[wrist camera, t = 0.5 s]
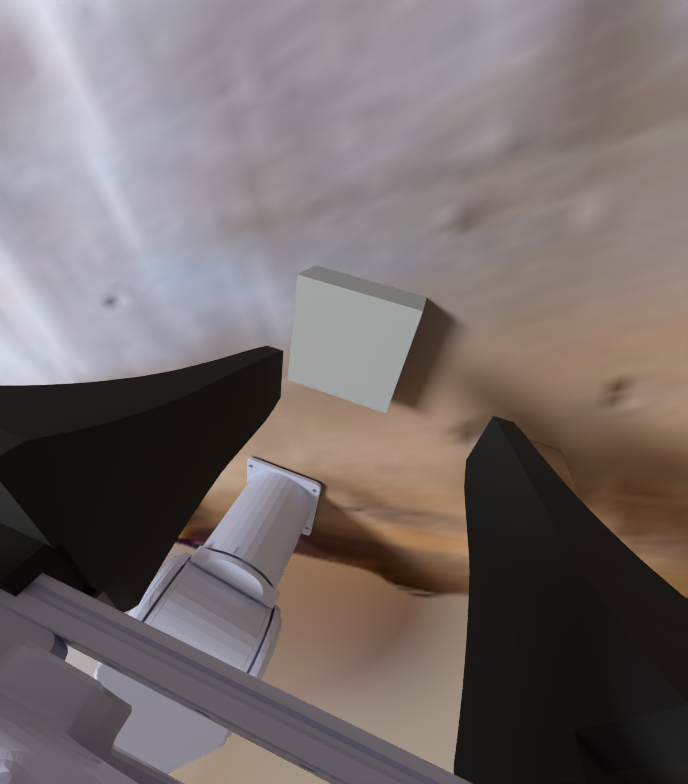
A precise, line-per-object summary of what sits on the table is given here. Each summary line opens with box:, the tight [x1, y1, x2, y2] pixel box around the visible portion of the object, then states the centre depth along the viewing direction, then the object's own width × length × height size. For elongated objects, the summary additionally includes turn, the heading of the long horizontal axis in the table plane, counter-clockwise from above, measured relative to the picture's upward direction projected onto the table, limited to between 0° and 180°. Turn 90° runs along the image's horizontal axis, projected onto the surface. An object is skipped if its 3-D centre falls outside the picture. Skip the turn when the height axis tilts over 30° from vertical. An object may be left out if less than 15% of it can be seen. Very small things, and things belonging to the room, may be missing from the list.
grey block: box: [288, 266, 427, 413], centre depth 19 cm, size 7×7×3 cm
